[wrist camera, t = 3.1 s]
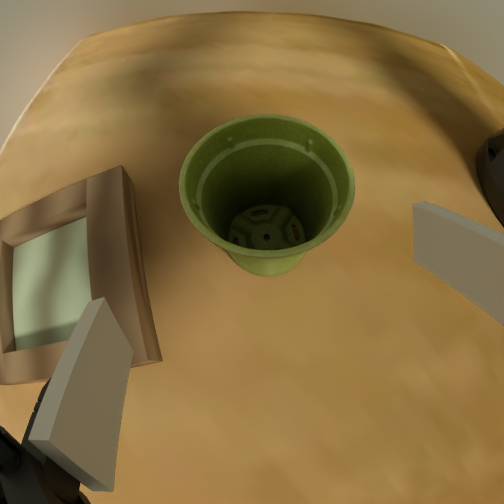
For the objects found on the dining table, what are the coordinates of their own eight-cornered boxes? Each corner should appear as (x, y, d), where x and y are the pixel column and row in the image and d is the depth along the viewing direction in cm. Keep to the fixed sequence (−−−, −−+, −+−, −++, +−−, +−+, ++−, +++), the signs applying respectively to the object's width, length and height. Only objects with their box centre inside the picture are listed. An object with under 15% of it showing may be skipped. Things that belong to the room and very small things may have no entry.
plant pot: (196, 203, 25) (170, 133, 17) (303, 178, 25) (316, 103, 17) (220, 312, 21) (195, 279, 13) (342, 278, 22) (383, 229, 14)
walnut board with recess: (133, 184, 26) (121, 165, 23) (162, 361, 20) (147, 360, 17) (2, 240, 24) (-15, 229, 22) (7, 385, 19) (-14, 383, 16)
